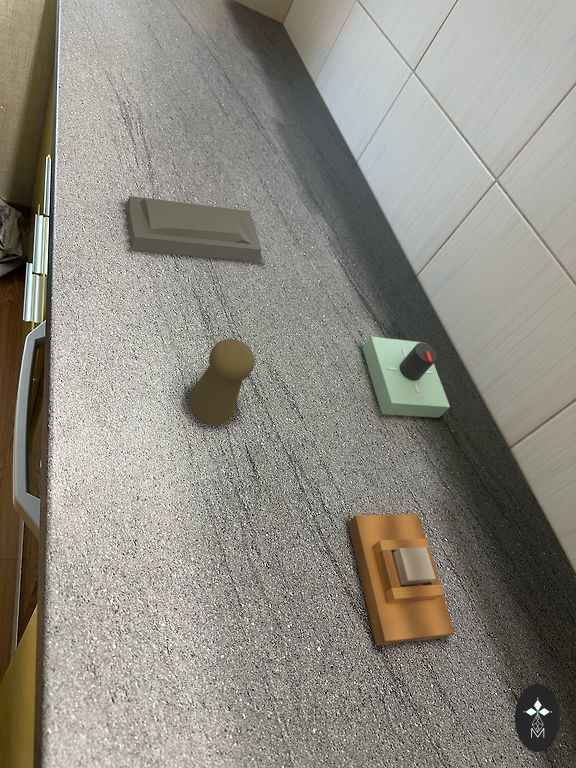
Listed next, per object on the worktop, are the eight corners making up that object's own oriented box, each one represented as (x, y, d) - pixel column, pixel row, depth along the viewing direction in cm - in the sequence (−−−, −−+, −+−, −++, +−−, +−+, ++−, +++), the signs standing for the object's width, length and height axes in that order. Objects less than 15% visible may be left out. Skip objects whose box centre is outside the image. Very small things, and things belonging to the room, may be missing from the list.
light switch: (409, 520, 73) (426, 508, 70) (444, 637, 65) (464, 629, 62) (347, 522, 69) (362, 509, 66) (375, 646, 62) (393, 637, 59)
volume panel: (416, 354, 92) (426, 342, 90) (439, 417, 86) (451, 406, 83) (362, 348, 88) (371, 335, 86) (381, 414, 82) (392, 402, 79)
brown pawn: (192, 426, 69) (215, 373, 61) (183, 385, 72) (204, 329, 64) (239, 423, 72) (267, 372, 64) (228, 383, 75) (254, 330, 67)
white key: (418, 552, 66) (426, 546, 65) (427, 583, 64) (436, 578, 63) (391, 553, 65) (399, 547, 64) (400, 585, 63) (408, 580, 62)
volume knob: (397, 359, 85) (413, 339, 82) (417, 362, 86) (434, 343, 83) (402, 379, 83) (419, 359, 79) (423, 382, 84) (441, 362, 81)
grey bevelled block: (259, 262, 91) (266, 245, 89) (132, 250, 83) (135, 231, 80) (246, 218, 97) (252, 202, 94) (125, 203, 88) (128, 184, 86)
